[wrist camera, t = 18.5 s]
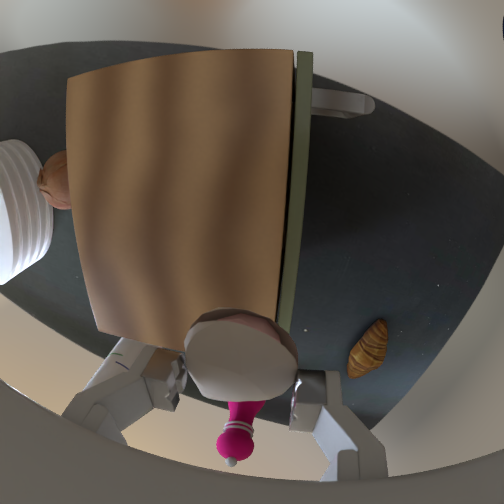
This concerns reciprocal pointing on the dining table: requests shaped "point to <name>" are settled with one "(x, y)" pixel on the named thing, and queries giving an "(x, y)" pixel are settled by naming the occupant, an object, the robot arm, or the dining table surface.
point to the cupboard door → (305, 106)
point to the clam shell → (240, 356)
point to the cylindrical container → (118, 360)
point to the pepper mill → (238, 431)
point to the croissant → (369, 350)
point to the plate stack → (21, 210)
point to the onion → (55, 181)
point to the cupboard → (181, 187)
